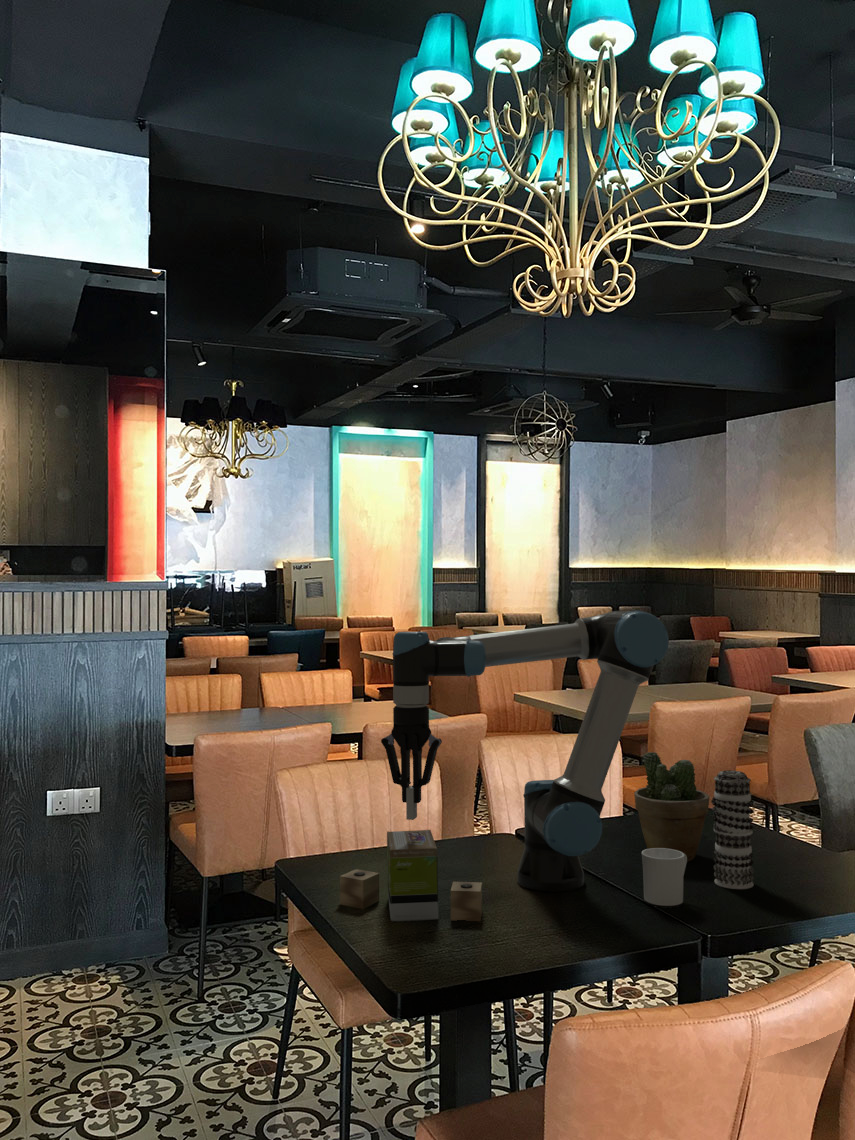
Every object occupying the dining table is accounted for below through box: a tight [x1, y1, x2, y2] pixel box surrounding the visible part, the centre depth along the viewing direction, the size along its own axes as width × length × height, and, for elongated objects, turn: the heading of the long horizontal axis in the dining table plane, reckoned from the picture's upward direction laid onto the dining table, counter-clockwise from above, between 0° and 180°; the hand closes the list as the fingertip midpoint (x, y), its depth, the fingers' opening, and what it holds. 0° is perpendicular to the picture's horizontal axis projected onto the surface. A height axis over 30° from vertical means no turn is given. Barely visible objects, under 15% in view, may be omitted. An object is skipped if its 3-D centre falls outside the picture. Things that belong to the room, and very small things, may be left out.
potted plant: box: [634, 751, 710, 862], centre depth 236 cm, size 18×19×25 cm
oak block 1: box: [339, 868, 380, 910], centre depth 200 cm, size 6×6×6 cm
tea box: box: [386, 829, 439, 922], centre depth 196 cm, size 15×10×15 cm, turn 5°
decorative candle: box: [710, 769, 755, 890], centre depth 213 cm, size 9×9×25 cm
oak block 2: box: [450, 881, 483, 922], centre depth 192 cm, size 6×6×6 cm
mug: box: [641, 848, 688, 909], centre depth 200 cm, size 11×9×10 cm
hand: (411, 818), depth 196 cm, fingers closed
